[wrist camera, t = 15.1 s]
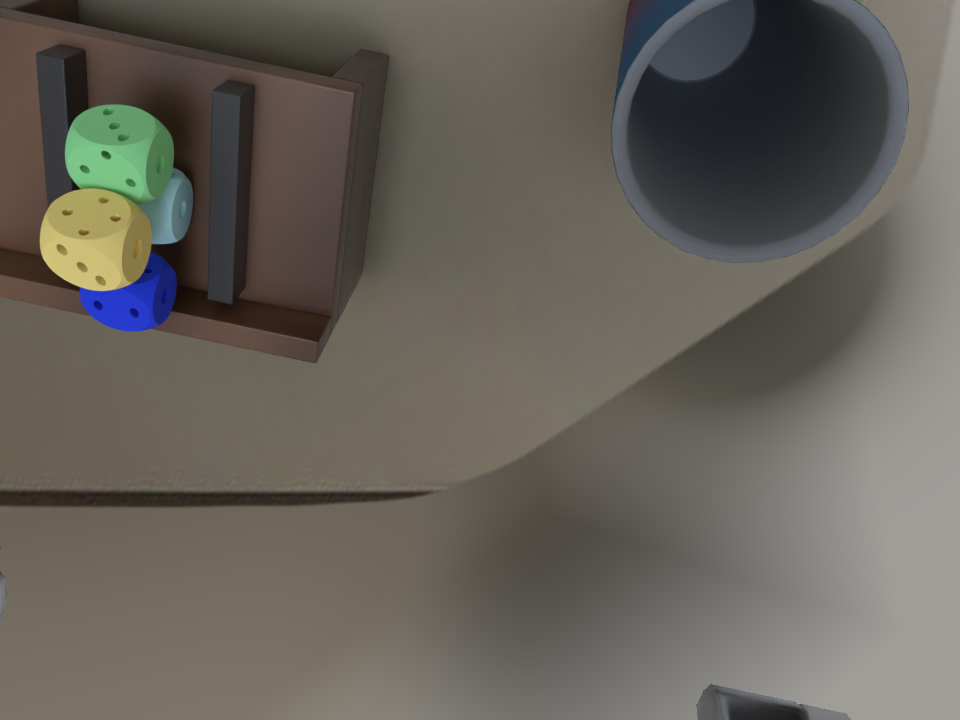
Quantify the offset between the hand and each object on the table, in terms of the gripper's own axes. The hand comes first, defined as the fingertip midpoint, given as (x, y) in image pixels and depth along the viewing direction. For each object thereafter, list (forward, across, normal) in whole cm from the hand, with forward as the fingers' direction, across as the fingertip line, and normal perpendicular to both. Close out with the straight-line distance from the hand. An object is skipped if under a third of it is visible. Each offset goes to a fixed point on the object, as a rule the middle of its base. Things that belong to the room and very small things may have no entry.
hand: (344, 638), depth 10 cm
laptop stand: (+29, +13, +6) cm, 33 cm away
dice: (+23, +13, +6) cm, 27 cm away
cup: (+30, -6, -3) cm, 31 cm away
